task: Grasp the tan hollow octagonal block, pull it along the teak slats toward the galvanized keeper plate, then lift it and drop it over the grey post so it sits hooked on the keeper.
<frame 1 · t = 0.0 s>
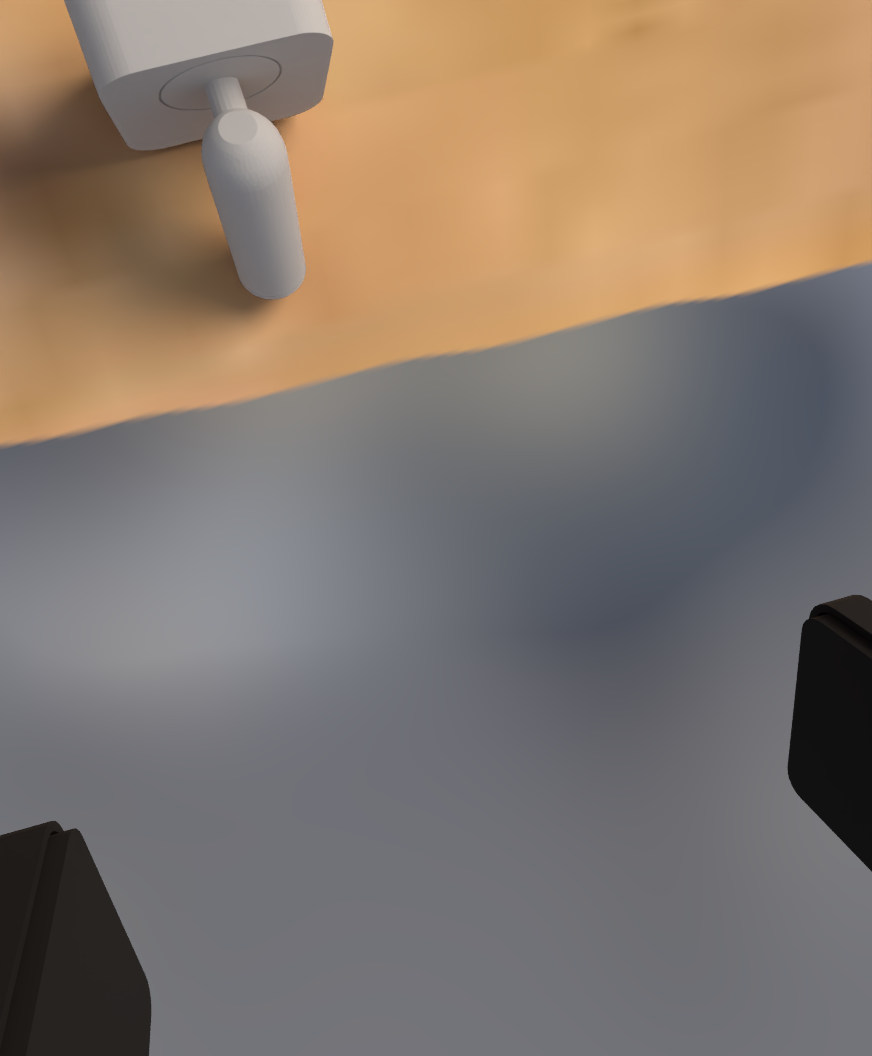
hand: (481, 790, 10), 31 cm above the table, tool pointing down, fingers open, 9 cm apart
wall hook: (234, 153, 34), on the table
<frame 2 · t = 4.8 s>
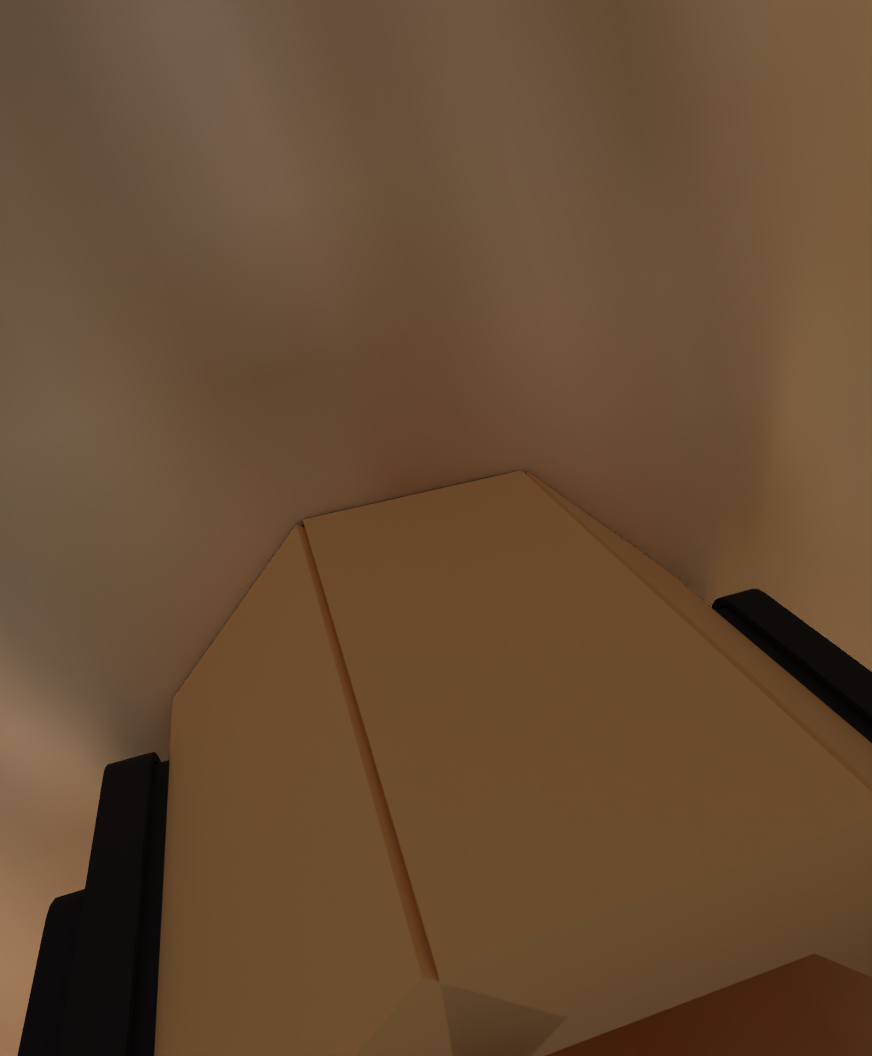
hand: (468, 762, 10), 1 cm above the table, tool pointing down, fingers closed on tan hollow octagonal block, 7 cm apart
tan hollow octagonal block: (447, 716, 11), on the table, touching gripper
when the fingers open (4 cm above the table, at t = 12.1 s): tan hollow octagonal block drops 2 cm, resting on keeper.
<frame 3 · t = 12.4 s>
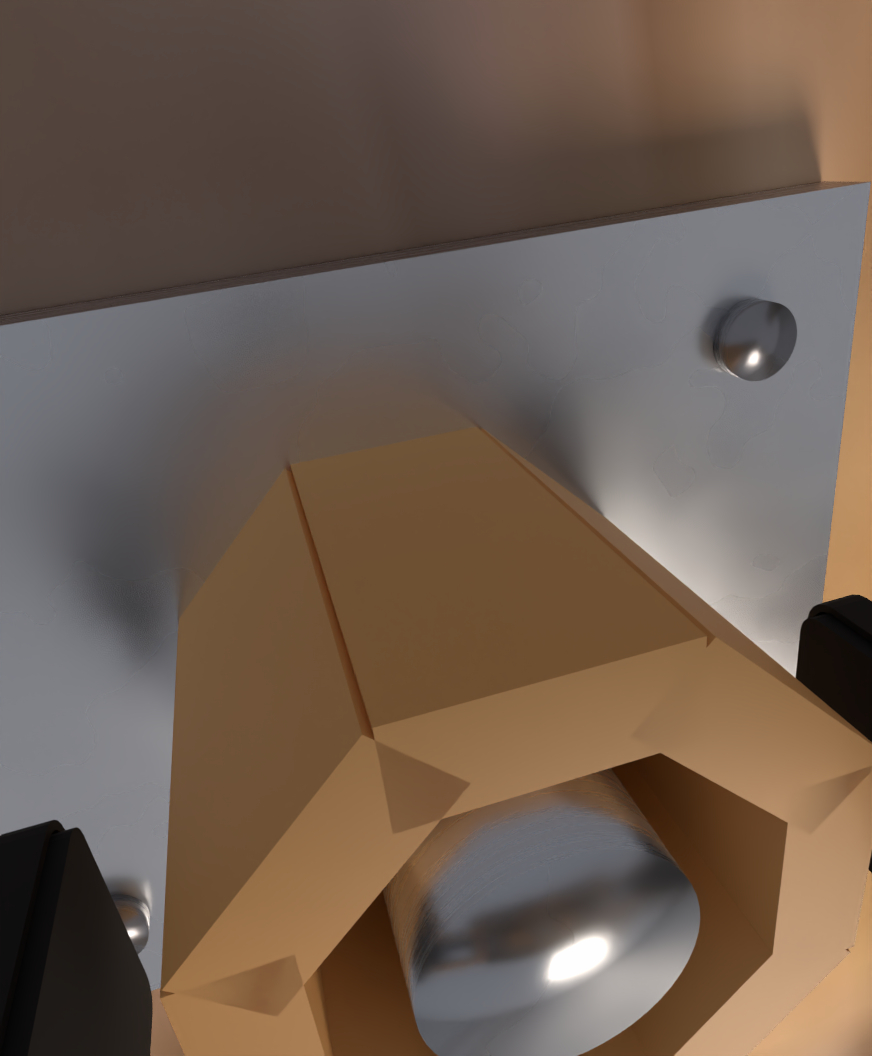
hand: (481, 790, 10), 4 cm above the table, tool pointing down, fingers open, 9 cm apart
keeper: (400, 613, 14), on the table
tan hollow octagonal block: (416, 643, 13), point 1 cm above the table, touching keeper
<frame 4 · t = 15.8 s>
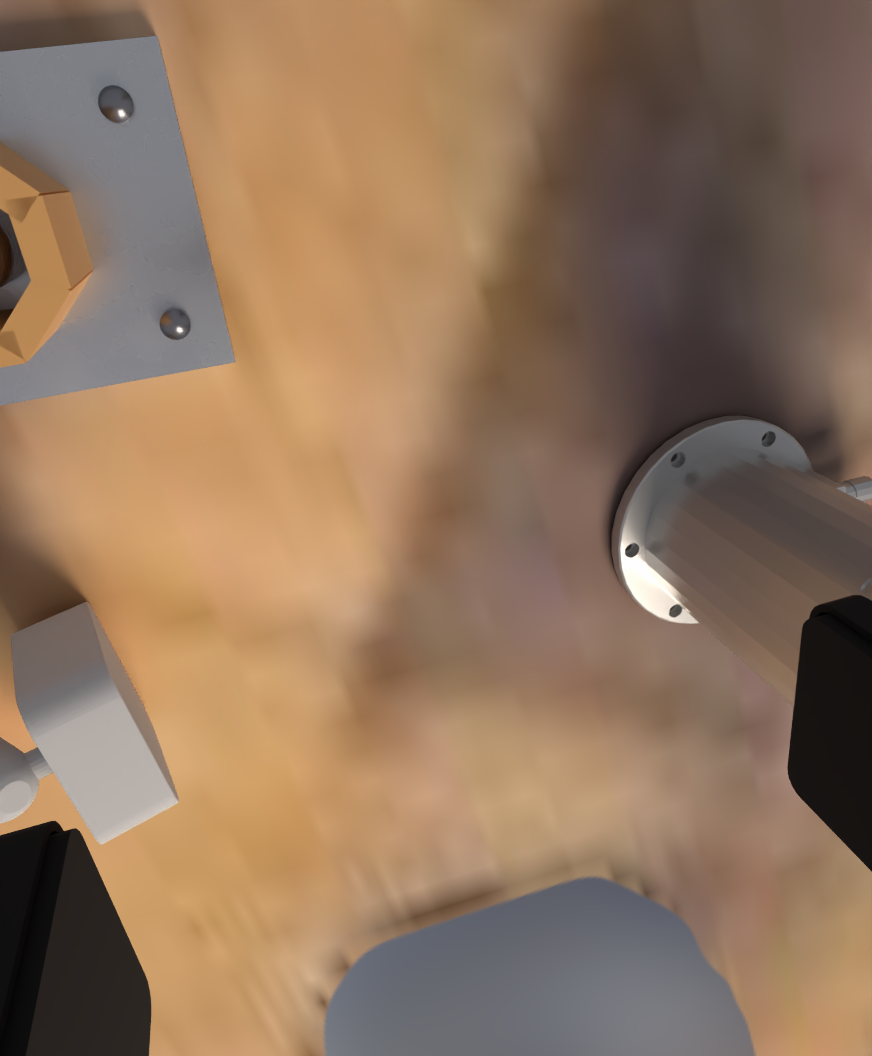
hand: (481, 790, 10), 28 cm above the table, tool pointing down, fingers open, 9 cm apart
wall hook: (36, 684, 38), on the table
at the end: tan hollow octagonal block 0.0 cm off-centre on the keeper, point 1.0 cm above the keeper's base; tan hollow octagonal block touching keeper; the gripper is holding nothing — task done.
